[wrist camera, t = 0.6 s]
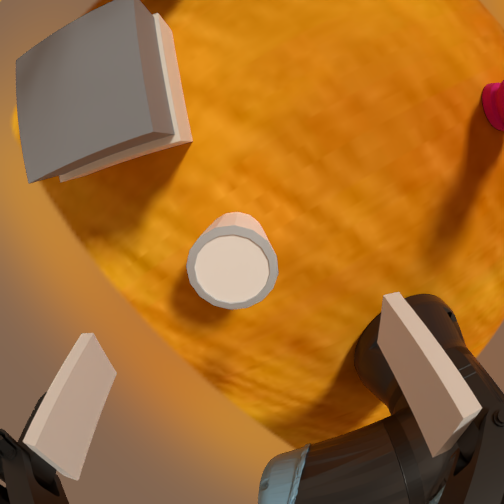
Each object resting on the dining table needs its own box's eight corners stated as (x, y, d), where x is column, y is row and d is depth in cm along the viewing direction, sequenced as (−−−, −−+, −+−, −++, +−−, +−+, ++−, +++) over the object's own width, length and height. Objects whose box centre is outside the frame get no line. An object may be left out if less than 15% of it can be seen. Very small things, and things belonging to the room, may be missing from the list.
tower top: (174, 134, 20) (153, 131, 15) (64, 174, 20) (28, 183, 16) (154, 17, 16) (132, -8, 11) (49, 68, 16) (16, 60, 12)
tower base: (193, 141, 24) (180, 140, 20) (87, 175, 25) (60, 182, 20) (172, 32, 20) (158, 12, 15) (71, 75, 21) (44, 67, 16)
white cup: (200, 270, 29) (187, 306, 22) (201, 203, 26) (185, 222, 20) (268, 275, 29) (273, 312, 22) (275, 208, 26) (283, 228, 20)
